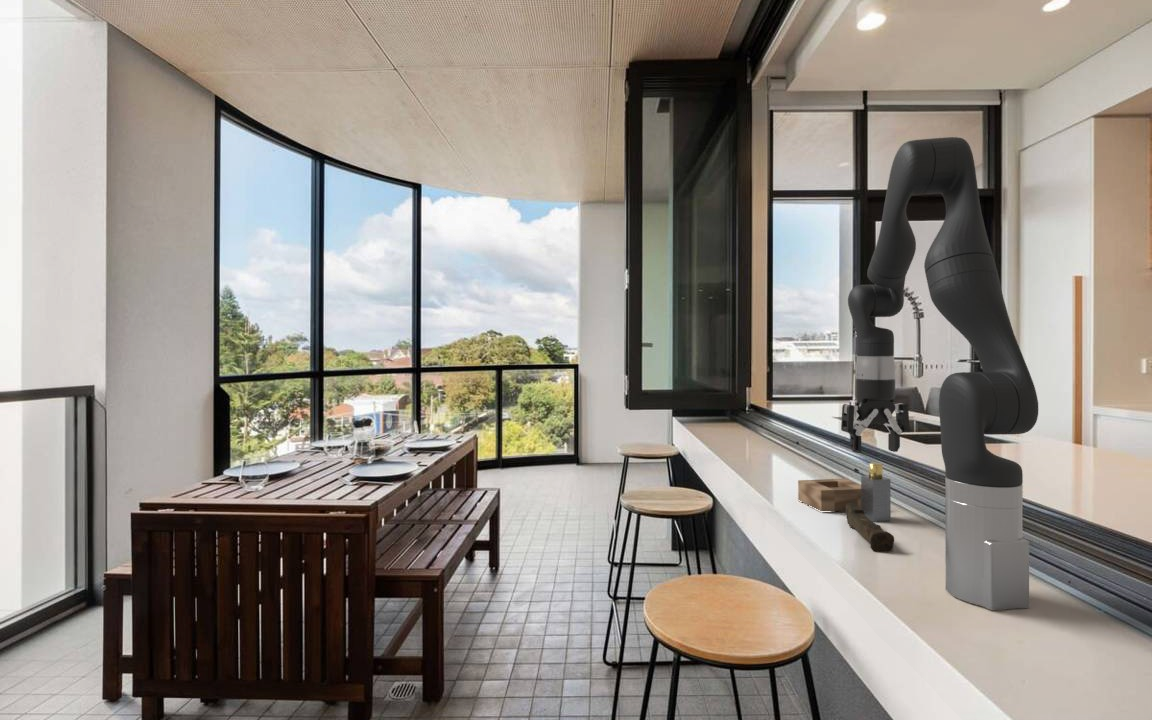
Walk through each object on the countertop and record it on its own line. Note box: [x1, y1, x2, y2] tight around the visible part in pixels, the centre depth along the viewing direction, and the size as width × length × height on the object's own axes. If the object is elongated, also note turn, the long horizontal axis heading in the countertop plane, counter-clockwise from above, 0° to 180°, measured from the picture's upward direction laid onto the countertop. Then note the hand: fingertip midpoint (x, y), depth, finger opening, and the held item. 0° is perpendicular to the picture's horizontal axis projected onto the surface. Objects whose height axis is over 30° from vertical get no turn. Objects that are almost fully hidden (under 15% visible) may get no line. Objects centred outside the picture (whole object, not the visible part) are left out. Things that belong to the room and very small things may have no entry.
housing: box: [797, 478, 861, 512], centre depth 130 cm, size 10×12×5 cm
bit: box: [860, 462, 892, 523], centre depth 120 cm, size 4×4×12 cm
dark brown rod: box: [845, 503, 895, 553], centre depth 109 cm, size 19×4×5 cm, turn 169°
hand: (875, 451), depth 120 cm, fingers open, 8 cm apart
